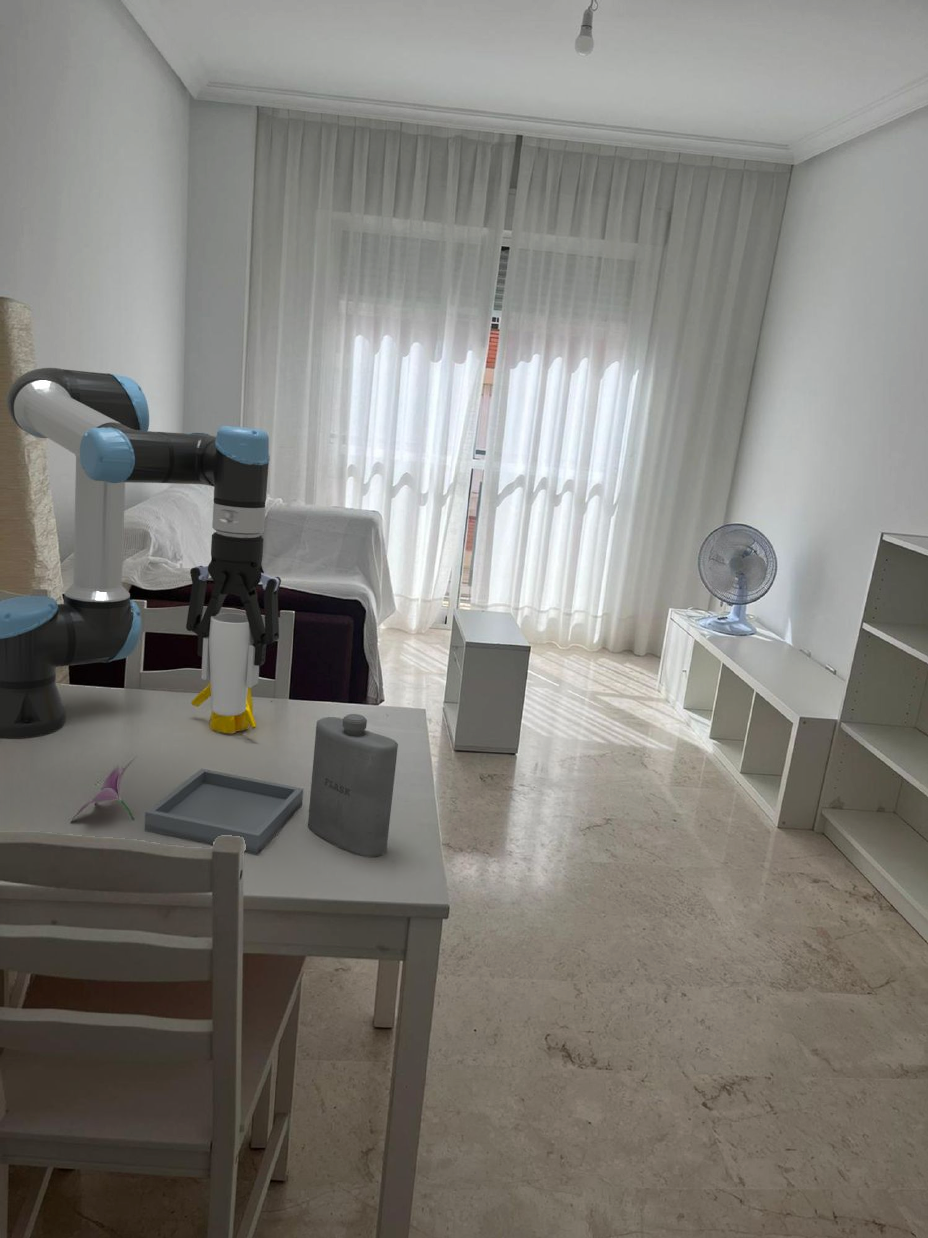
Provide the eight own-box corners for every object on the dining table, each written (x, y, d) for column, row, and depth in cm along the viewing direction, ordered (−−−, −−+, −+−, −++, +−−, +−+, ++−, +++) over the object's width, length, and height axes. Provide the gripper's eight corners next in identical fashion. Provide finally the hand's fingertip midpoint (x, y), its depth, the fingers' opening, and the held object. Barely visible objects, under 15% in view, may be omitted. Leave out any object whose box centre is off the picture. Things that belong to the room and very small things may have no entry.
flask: (297, 826, 144) (307, 706, 140) (323, 816, 149) (334, 699, 144) (367, 863, 136) (380, 736, 131) (393, 850, 140) (406, 727, 136)
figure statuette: (182, 720, 182) (188, 612, 177) (213, 712, 188) (219, 607, 183) (246, 746, 173) (254, 634, 168) (276, 737, 179) (284, 628, 174)
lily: (135, 800, 149) (106, 750, 146) (178, 797, 142) (148, 744, 139) (75, 846, 140) (42, 794, 137) (117, 845, 132) (84, 789, 130)
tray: (144, 830, 137) (145, 812, 136) (200, 785, 154) (201, 768, 154) (257, 854, 134) (258, 835, 134) (302, 805, 152) (303, 788, 151)
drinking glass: (239, 721, 139) (244, 625, 136) (197, 714, 140) (202, 618, 137) (257, 708, 145) (263, 616, 142) (217, 701, 147) (222, 610, 143)
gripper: (164, 527, 135) (158, 677, 140) (291, 544, 131) (280, 698, 136) (188, 522, 142) (182, 665, 147) (309, 538, 139) (298, 684, 144)
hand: (229, 680), depth 142 cm, fingers closed on drinking glass, 7 cm apart
